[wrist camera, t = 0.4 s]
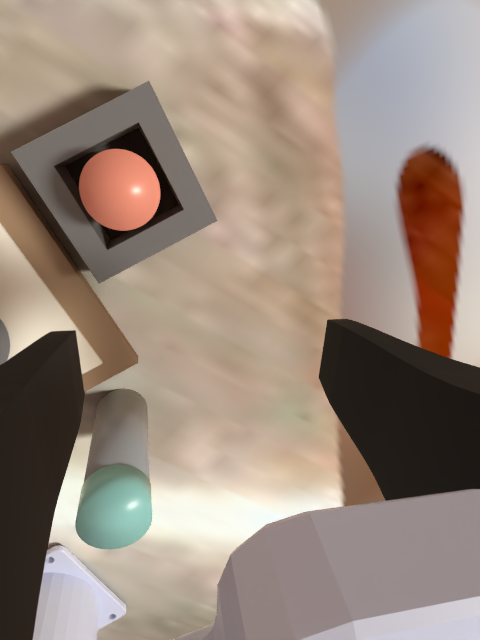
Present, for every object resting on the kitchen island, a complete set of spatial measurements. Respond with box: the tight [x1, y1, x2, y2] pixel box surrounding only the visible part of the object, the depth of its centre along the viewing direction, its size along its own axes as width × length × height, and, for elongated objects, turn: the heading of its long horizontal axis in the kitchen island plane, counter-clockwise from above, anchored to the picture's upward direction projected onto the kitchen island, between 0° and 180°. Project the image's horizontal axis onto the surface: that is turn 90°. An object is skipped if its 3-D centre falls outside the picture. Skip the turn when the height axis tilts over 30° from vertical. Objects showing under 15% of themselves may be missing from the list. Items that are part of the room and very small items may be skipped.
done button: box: [79, 149, 160, 231], centre depth 17 cm, size 3×3×2 cm
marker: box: [76, 389, 152, 549], centre depth 20 cm, size 3×3×8 cm
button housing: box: [11, 81, 217, 283], centre depth 18 cm, size 6×6×2 cm
